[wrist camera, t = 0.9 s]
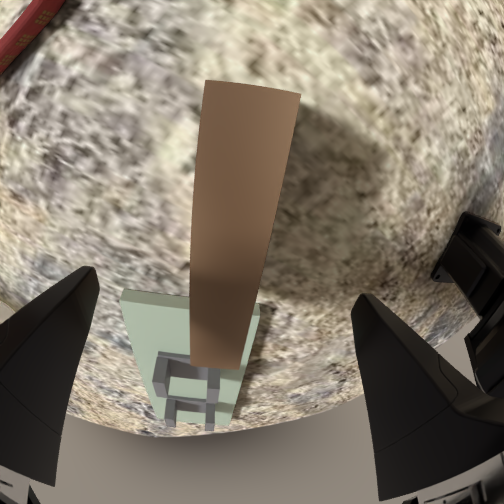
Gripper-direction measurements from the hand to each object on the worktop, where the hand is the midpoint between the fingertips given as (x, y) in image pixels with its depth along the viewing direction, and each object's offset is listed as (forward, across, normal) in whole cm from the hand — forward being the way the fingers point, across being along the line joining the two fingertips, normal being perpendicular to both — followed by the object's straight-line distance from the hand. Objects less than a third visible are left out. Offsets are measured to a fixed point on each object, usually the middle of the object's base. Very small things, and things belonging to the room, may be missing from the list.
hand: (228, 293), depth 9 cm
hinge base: (+8, +2, +20) cm, 22 cm away
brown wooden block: (+8, 0, 0) cm, 8 cm away
